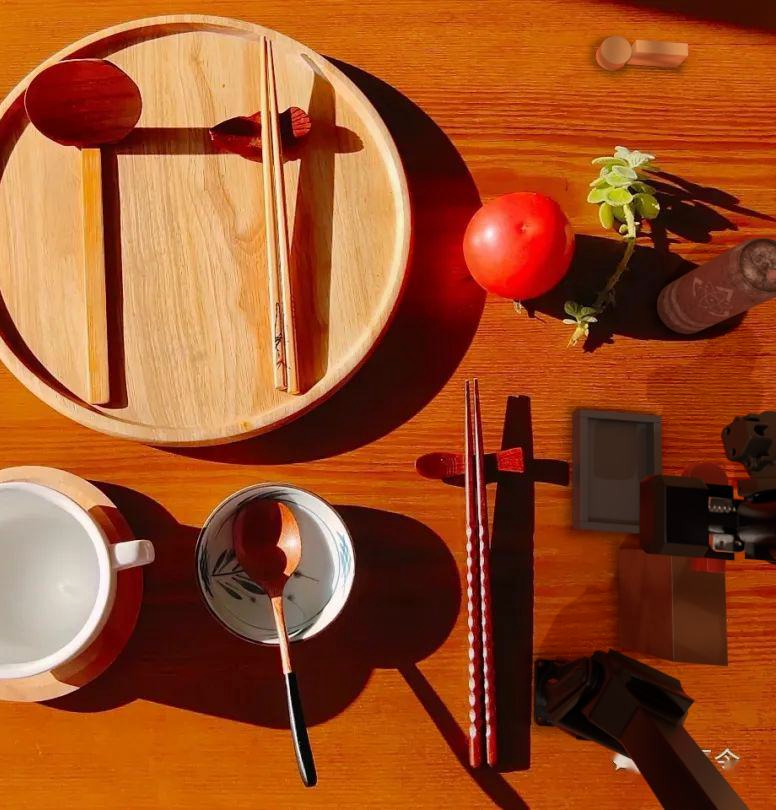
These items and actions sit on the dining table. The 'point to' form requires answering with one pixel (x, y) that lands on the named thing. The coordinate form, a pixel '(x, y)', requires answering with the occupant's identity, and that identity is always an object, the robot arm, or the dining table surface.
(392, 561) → the dining table surface
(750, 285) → the can
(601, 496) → the tray
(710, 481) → the red spoon
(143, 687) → the dining table surface
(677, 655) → the stand
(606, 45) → the birch spoon
